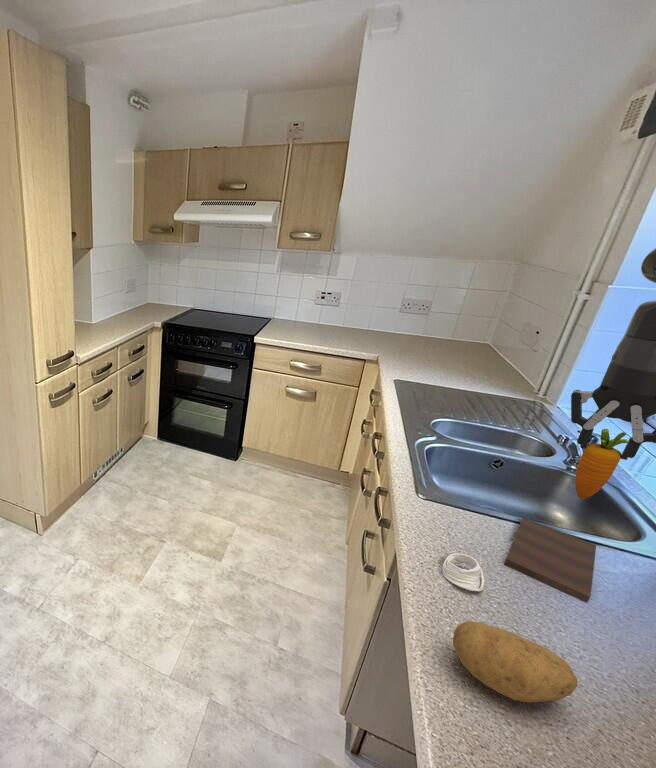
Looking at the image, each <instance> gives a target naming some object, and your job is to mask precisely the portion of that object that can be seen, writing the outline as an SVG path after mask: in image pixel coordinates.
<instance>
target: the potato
mask: <svg viewBox="0 0 656 768" xmlns="http://www.w3.org/2000/svg"><path fill="white" fill-rule="evenodd" d="M452 638H453V639H452V645H453V648H454V650H455V652H456V655H457V656H458V658H459V660H460V662H461V664H462V665H463V667H464V668H465V669H466V670H467V671H468V672H469V673H470V674H471V675H472V676H473V677H474V678H476V679H477V680H478V681H479V682H480V683H482V684H483V685H485V686H486V687H487V688H490V689H492V690H493V691H495V692H497V693H499V694H501V695H503V696H505V697H507V698H509V699H511V700H513V701H517V702H523V703H538V702H539V703H540V702H555V701H558V700H562V699H564V698H567V697H568V696H570V695H572V694H573V693H574V692H575V691H576V689H577V687H578V686H579V685H578V678H577V676H576V675H575V672H573V669H572V668H571V666H570V665H569V664H568V662H567V661H566V660H565V659H563V658H562V657H560V656H559V655H558V654H556V653H555V652H554V651H552V650H550V649H548V648H547V647H544V646H542V645H540V644H539V643H536V642H535V641H533V640H532V641H531V640H529V639H527V638H525V637H523V636H521V635H518V634H516V633H513V632H511V631H509V630H506V629H504V628H501V627H497V626H493V625H489V624H487V623H482V622H477V621H473V620H466V621H464V622H463V623H461V624H458V625H457V626H456V628H455V629H454V631H453V637H452Z"/></svg>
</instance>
